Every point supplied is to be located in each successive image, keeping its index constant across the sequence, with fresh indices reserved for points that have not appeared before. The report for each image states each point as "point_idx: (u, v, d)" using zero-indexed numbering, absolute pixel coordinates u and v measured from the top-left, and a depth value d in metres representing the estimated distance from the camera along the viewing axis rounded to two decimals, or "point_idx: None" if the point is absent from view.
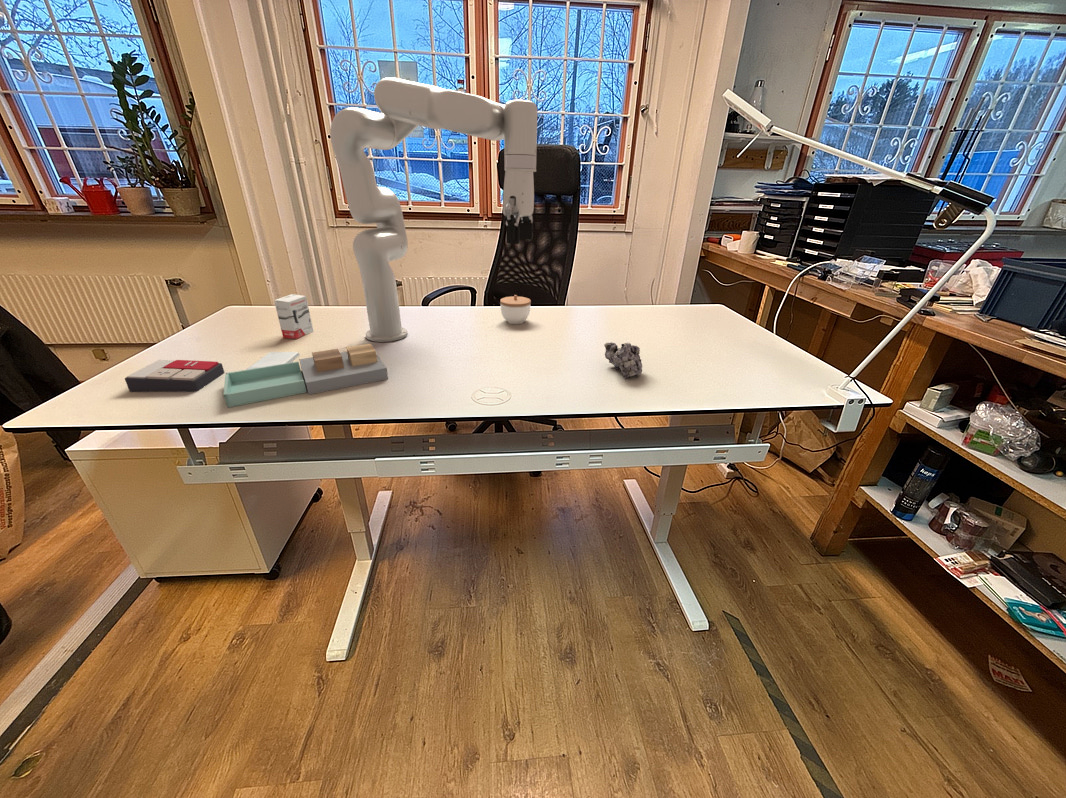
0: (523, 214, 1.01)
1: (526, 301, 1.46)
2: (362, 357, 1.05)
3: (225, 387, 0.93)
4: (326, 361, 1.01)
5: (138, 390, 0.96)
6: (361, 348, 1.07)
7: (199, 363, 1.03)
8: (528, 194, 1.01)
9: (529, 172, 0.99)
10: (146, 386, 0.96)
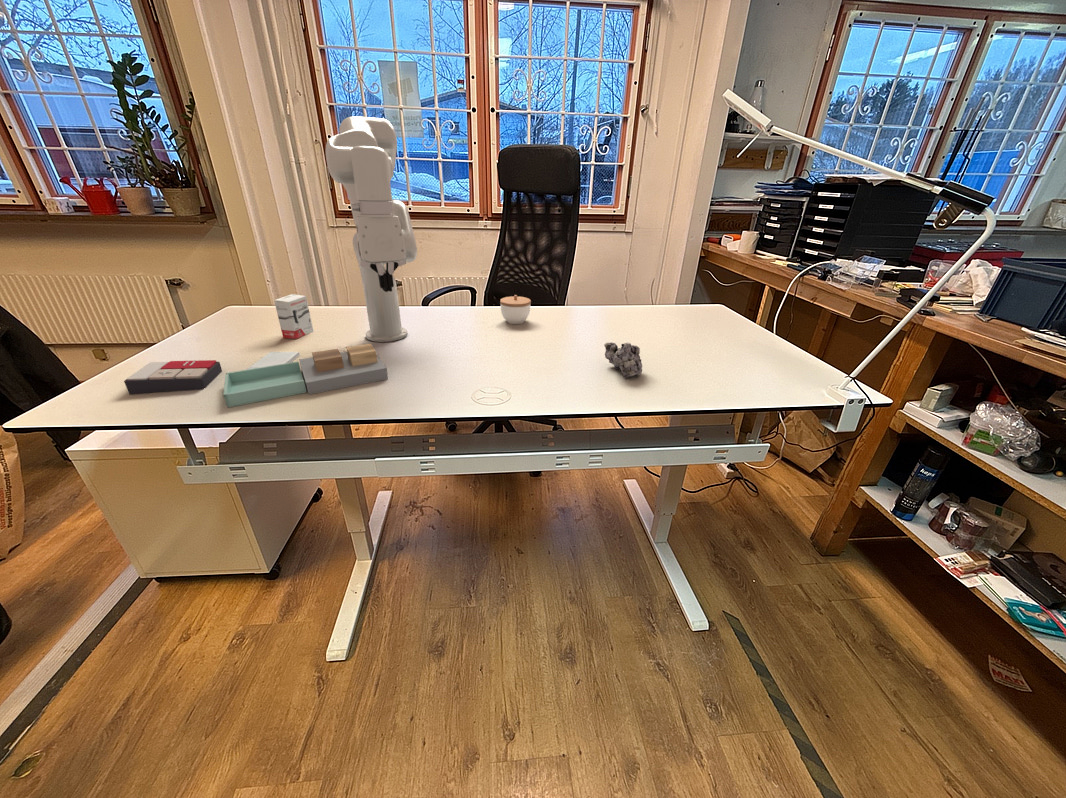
0: None
1: (526, 301, 1.46)
2: (362, 357, 1.05)
3: (225, 387, 0.93)
4: (326, 361, 1.01)
5: (139, 392, 0.95)
6: (361, 348, 1.07)
7: (197, 362, 1.04)
8: None
9: None
10: (148, 387, 0.95)
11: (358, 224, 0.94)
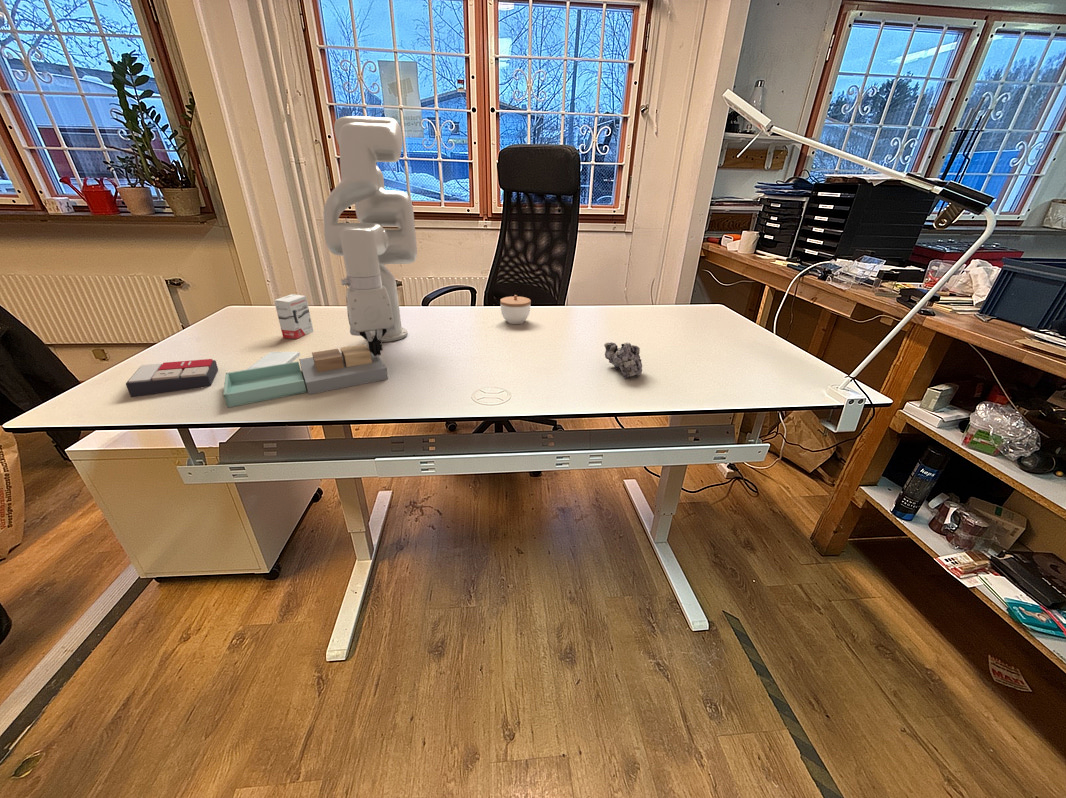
0: None
1: (526, 301, 1.46)
2: (356, 358, 1.04)
3: (225, 387, 0.93)
4: (326, 361, 1.01)
5: (142, 394, 0.95)
6: (355, 349, 1.07)
7: (194, 362, 1.04)
8: None
9: None
10: (152, 388, 0.95)
11: (348, 298, 0.99)
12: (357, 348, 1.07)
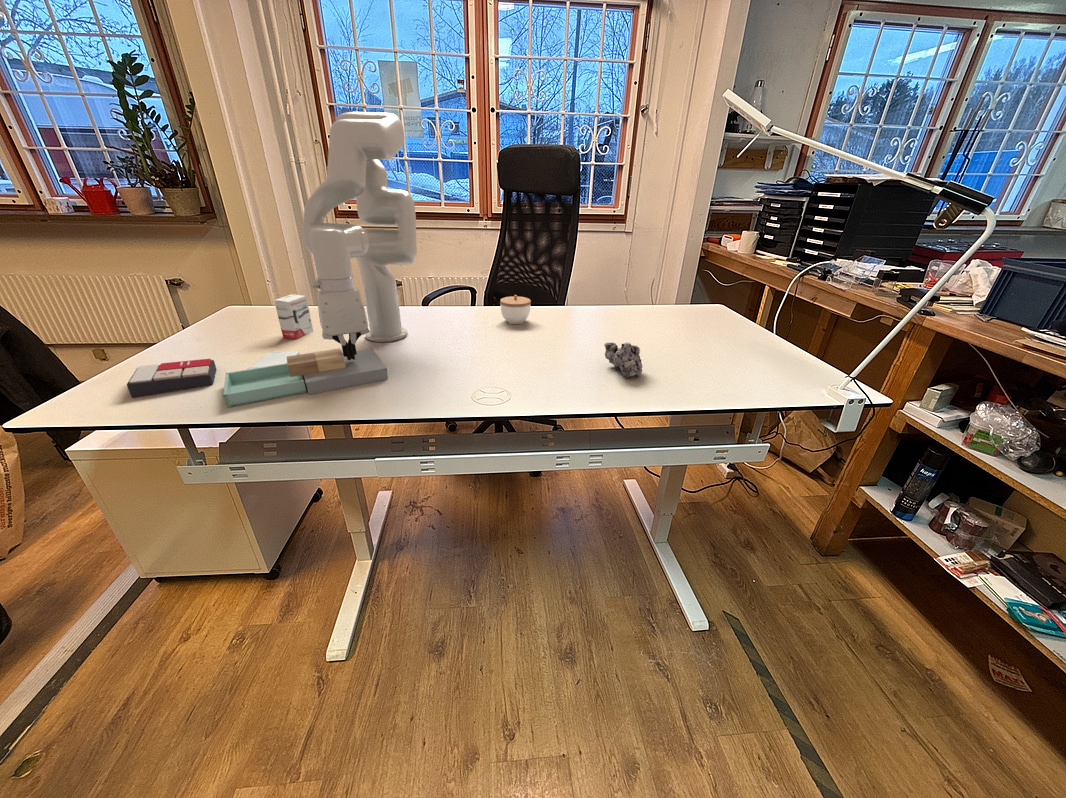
0: None
1: (526, 301, 1.46)
2: (329, 362, 1.01)
3: (225, 387, 0.93)
4: (300, 365, 0.98)
5: (143, 394, 0.94)
6: (329, 353, 1.04)
7: (193, 362, 1.04)
8: None
9: None
10: (153, 388, 0.95)
11: (318, 300, 0.96)
12: (330, 352, 1.04)
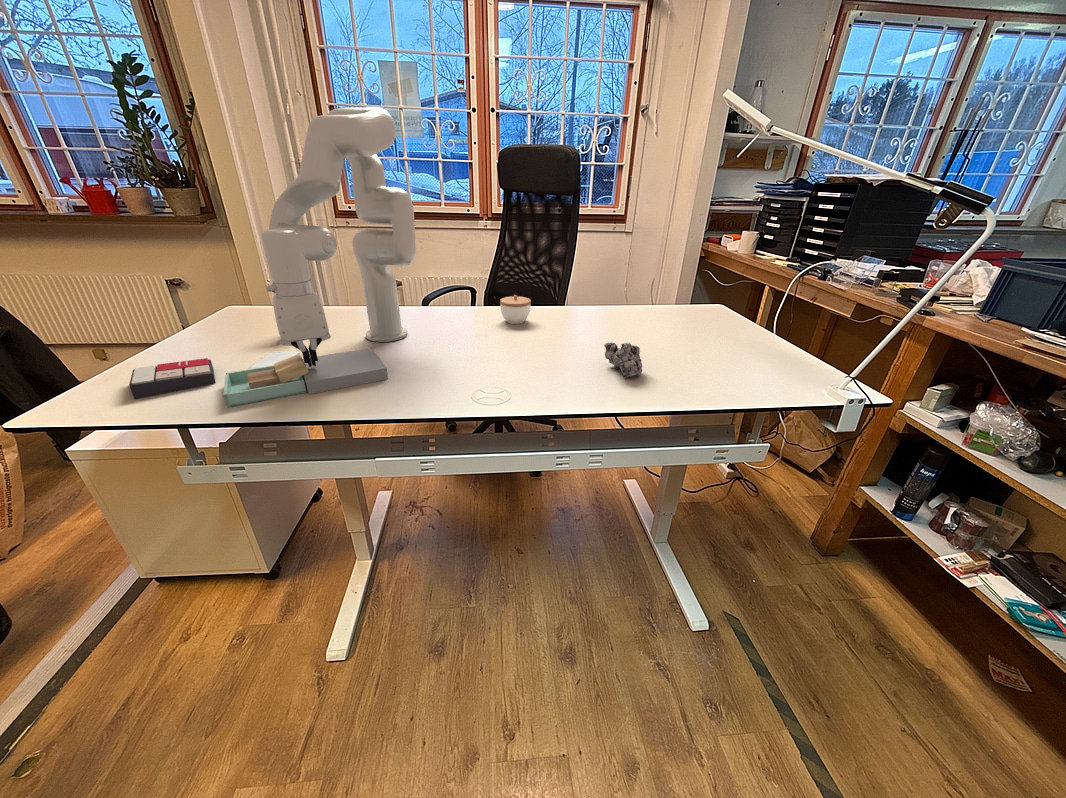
0: None
1: (526, 301, 1.46)
2: (290, 371, 0.98)
3: (225, 387, 0.93)
4: (261, 383, 0.95)
5: (146, 395, 0.94)
6: (288, 361, 1.00)
7: (190, 362, 1.04)
8: None
9: None
10: (156, 388, 0.95)
11: (274, 305, 0.92)
12: (290, 360, 1.00)
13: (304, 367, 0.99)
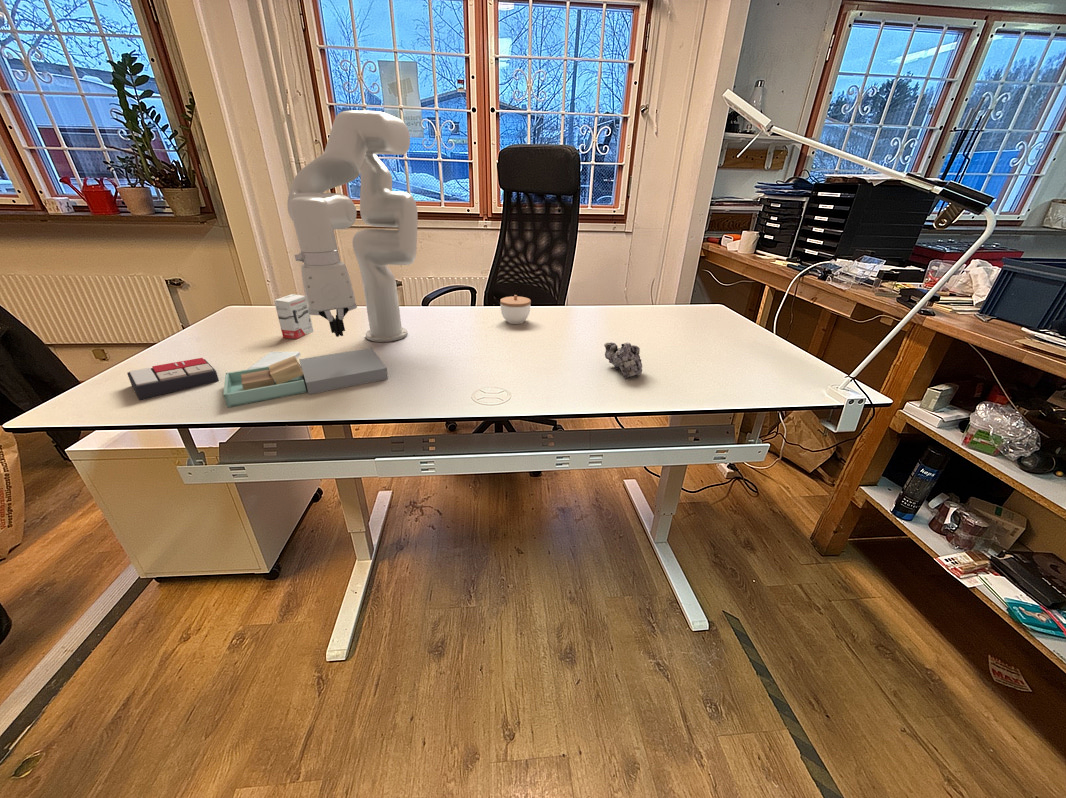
0: None
1: (526, 301, 1.46)
2: (284, 373, 0.97)
3: (225, 387, 0.93)
4: (255, 384, 0.95)
5: (152, 396, 0.94)
6: (283, 363, 0.99)
7: (186, 362, 1.04)
8: None
9: None
10: (162, 388, 0.95)
11: (302, 275, 0.93)
12: (285, 362, 1.00)
13: (299, 369, 0.99)
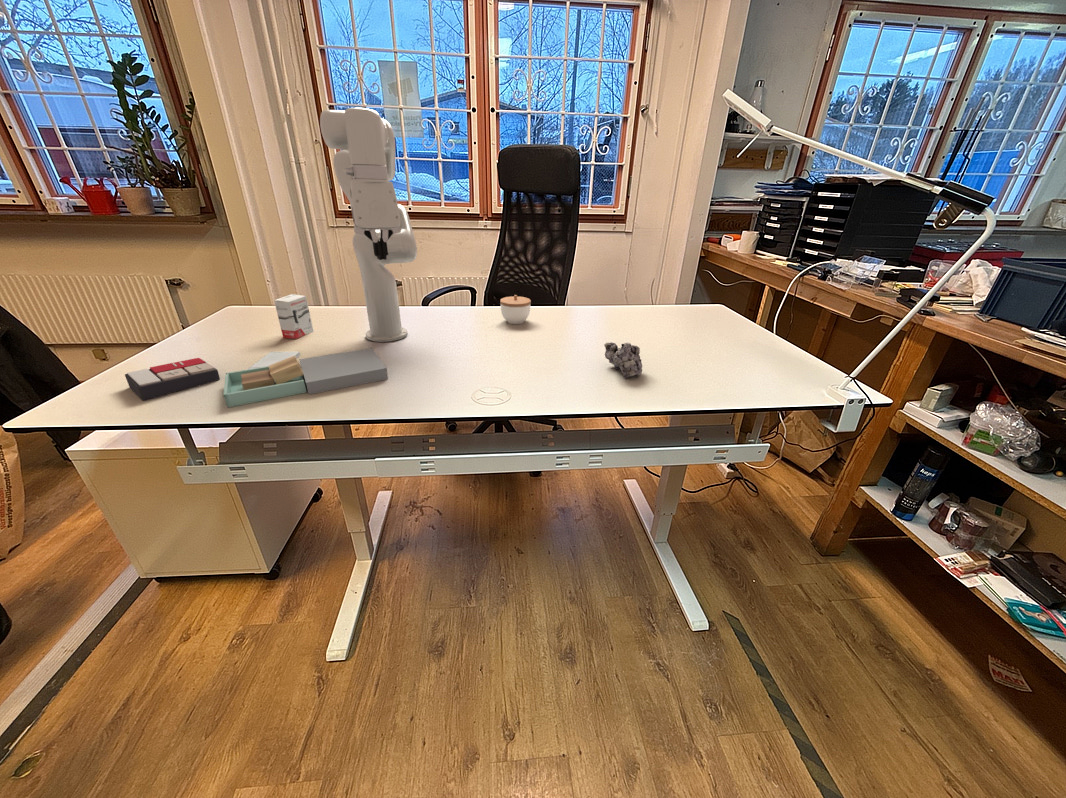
0: None
1: (526, 301, 1.46)
2: (284, 373, 0.97)
3: (225, 387, 0.93)
4: (255, 384, 0.95)
5: (155, 396, 0.94)
6: (283, 363, 0.99)
7: (184, 362, 1.04)
8: None
9: None
10: (165, 388, 0.95)
11: (352, 189, 0.93)
12: (285, 362, 1.00)
13: (299, 369, 0.99)
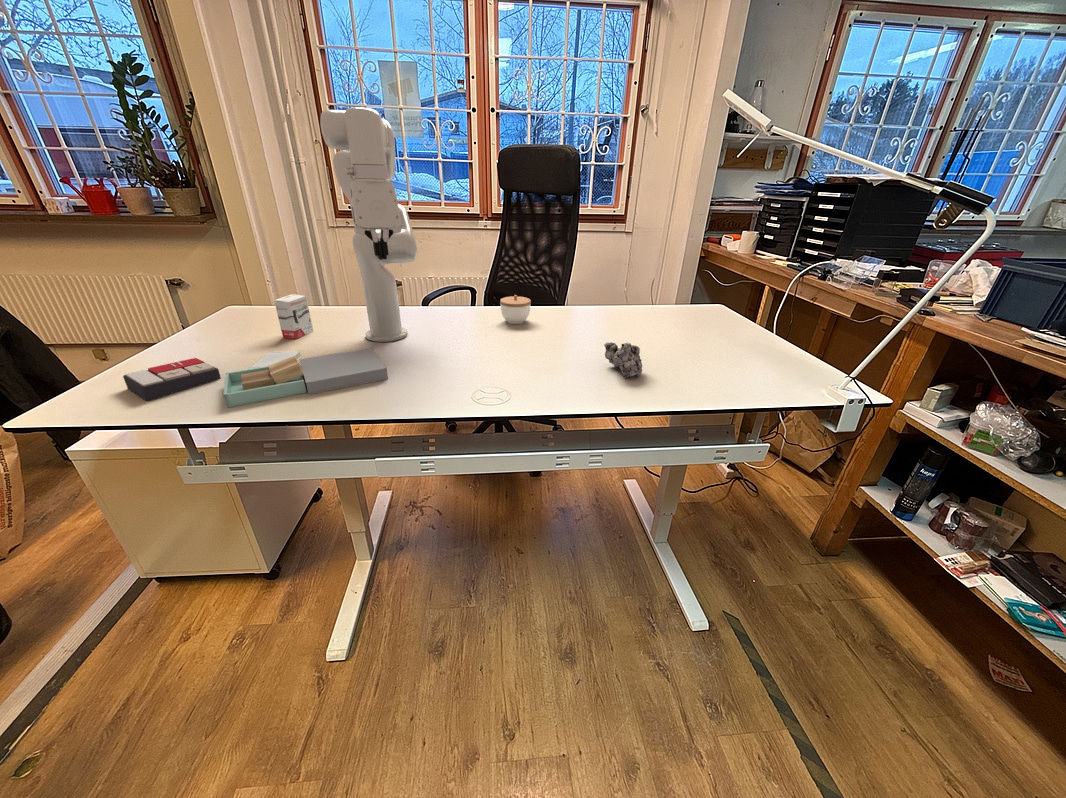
0: None
1: (526, 301, 1.46)
2: (284, 373, 0.97)
3: (225, 387, 0.93)
4: (255, 384, 0.95)
5: (158, 396, 0.94)
6: (283, 363, 0.99)
7: (182, 362, 1.03)
8: None
9: None
10: (167, 388, 0.95)
11: (352, 188, 0.93)
12: (285, 362, 1.00)
13: (299, 369, 0.99)
